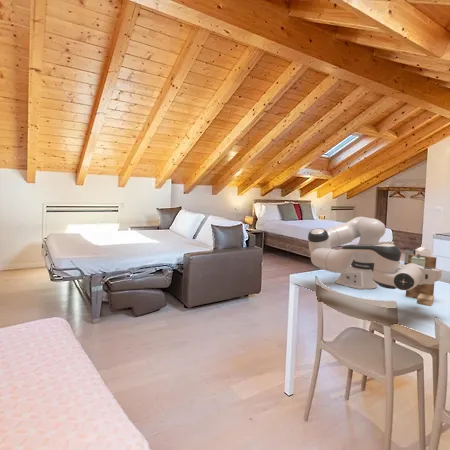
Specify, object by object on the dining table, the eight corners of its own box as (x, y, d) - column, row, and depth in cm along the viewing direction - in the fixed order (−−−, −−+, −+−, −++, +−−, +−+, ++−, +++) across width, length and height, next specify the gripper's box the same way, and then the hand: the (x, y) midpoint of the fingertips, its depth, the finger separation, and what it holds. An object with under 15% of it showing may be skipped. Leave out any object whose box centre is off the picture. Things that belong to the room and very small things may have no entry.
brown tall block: (402, 300, 171) (405, 257, 169) (408, 292, 184) (411, 252, 181) (430, 306, 164) (434, 261, 161) (436, 297, 176) (439, 255, 173)
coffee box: (413, 275, 217) (415, 251, 215) (403, 273, 221) (404, 249, 219) (419, 273, 223) (421, 249, 221) (409, 271, 227) (410, 247, 225)
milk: (417, 282, 202) (420, 246, 199) (413, 279, 208) (415, 244, 205) (428, 283, 201) (431, 246, 199) (423, 280, 207) (426, 244, 205)
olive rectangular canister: (409, 283, 160) (411, 254, 159) (411, 280, 164) (413, 252, 162) (421, 285, 157) (423, 255, 155) (423, 282, 161) (425, 254, 159)
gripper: (385, 276, 156) (393, 270, 167) (437, 285, 144) (442, 278, 154) (386, 263, 156) (394, 258, 166) (439, 270, 143) (443, 264, 153)
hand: (417, 267), depth 160 cm, fingers closed on olive rectangular canister, 5 cm apart
